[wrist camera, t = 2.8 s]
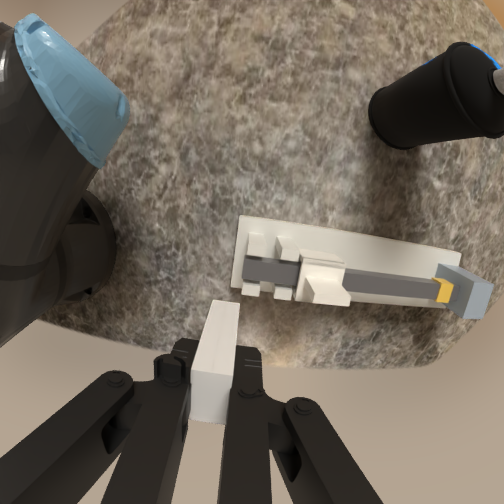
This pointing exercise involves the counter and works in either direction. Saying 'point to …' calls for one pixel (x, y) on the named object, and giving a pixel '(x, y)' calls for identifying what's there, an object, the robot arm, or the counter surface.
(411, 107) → the aerosol can
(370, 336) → the counter surface
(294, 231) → the grey rod on board
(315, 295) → the sleeve
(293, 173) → the counter surface
